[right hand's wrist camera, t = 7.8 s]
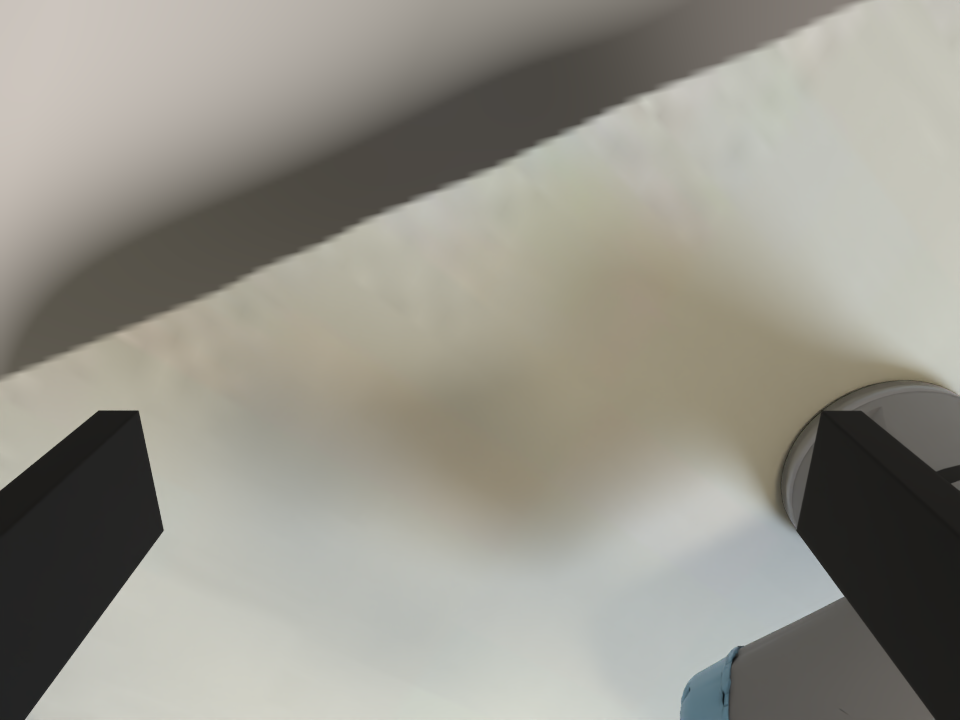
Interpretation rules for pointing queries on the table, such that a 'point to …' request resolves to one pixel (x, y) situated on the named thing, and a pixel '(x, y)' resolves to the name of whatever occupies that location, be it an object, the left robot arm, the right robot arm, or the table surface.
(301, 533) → the table surface
